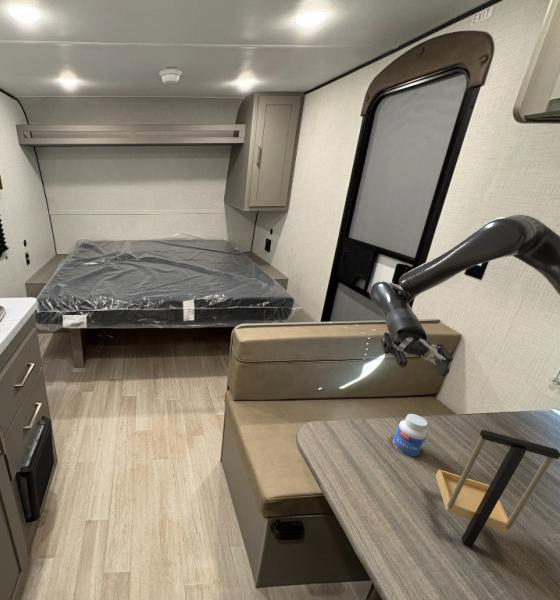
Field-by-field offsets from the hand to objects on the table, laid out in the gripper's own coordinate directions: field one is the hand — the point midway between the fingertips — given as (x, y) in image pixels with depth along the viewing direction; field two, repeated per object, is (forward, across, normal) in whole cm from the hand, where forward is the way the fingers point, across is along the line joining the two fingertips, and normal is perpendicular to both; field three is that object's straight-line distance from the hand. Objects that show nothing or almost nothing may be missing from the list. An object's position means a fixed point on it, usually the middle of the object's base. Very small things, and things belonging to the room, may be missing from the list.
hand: (424, 369), depth 76 cm
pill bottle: (+10, +1, +19) cm, 21 cm away
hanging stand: (+27, +4, +14) cm, 31 cm away
